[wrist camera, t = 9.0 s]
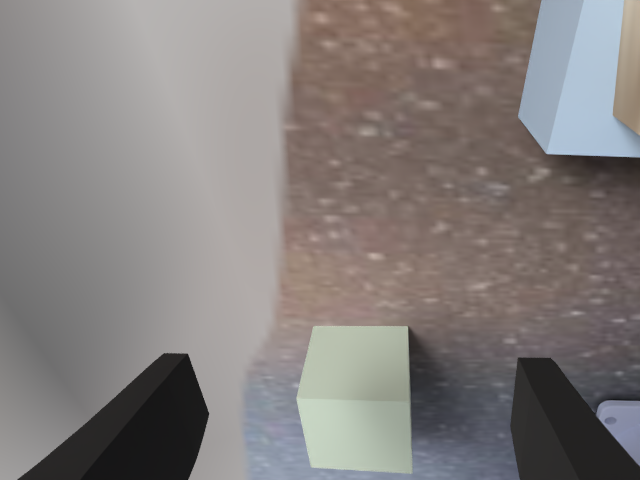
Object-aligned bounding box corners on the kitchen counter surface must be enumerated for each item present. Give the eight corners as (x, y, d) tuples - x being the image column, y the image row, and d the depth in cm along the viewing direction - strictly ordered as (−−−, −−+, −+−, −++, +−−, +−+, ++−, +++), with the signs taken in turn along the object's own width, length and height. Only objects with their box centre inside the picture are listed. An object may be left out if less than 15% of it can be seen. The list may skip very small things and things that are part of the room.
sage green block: (410, 392, 24) (412, 473, 20) (324, 390, 25) (311, 467, 21) (407, 324, 22) (409, 401, 18) (313, 324, 23) (296, 398, 19)
